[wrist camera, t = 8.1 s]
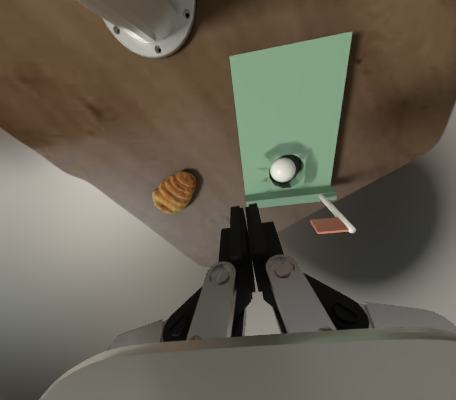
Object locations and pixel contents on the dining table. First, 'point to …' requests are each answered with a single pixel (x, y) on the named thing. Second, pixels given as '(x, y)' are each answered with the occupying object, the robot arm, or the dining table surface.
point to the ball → (282, 169)
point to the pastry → (174, 192)
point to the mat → (290, 117)
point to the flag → (332, 221)
